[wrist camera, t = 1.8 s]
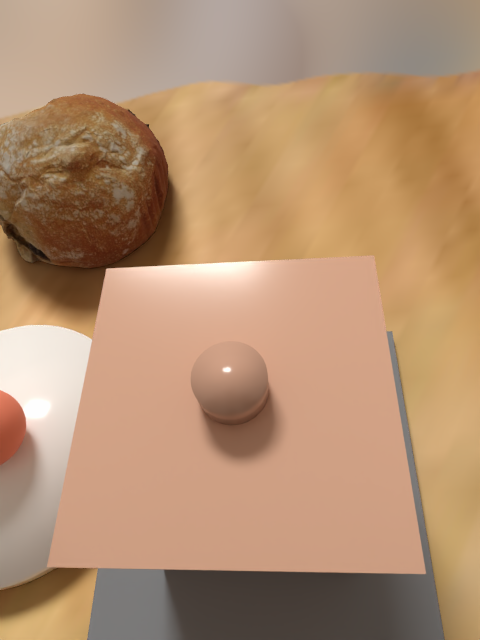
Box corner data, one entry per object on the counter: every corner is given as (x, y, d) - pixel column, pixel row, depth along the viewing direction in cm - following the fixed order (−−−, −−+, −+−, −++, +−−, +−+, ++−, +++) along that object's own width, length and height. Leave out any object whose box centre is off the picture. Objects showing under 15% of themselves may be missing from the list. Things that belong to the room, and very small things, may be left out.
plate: (22, 657, 16) (6, 662, 15) (-161, 500, 19) (-183, 496, 18) (186, 392, 20) (181, 384, 19) (12, 303, 24) (1, 292, 23)
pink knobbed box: (359, 573, 16) (438, 573, 7) (164, 569, 16) (25, 566, 8) (340, 385, 19) (379, 234, 11) (179, 388, 20) (94, 249, 11)
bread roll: (27, 259, 30) (-89, 223, 22) (75, 114, 30) (-23, 28, 22) (154, 302, 27) (73, 278, 19) (207, 142, 27) (147, 55, 20)
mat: (445, 663, 15) (448, 665, 14) (89, 650, 16) (85, 652, 15) (390, 335, 20) (392, 331, 20) (134, 343, 22) (132, 339, 21)
